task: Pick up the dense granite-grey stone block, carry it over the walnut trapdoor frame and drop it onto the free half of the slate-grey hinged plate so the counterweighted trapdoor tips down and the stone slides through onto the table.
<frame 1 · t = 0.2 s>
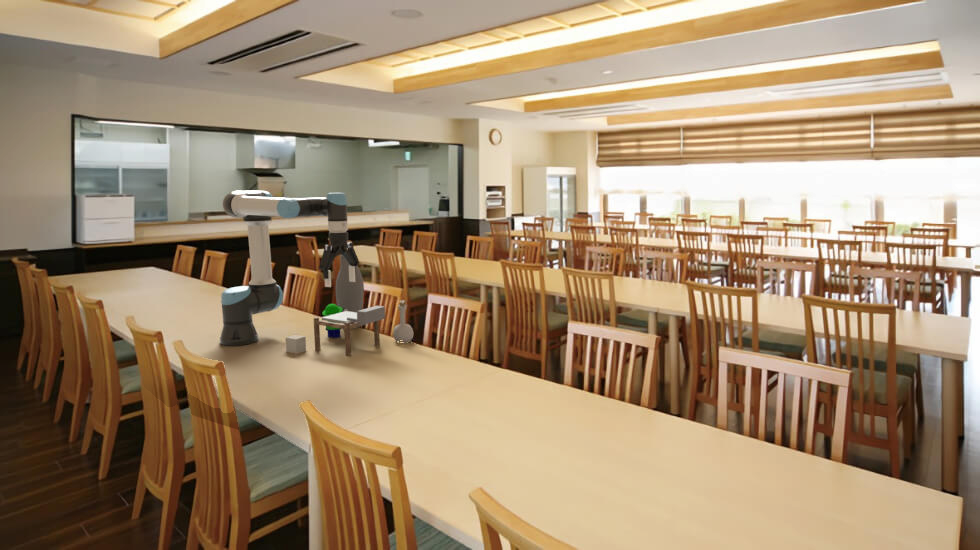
hand: (340, 284, 234), 27 cm above the table, fingers open, 13 cm apart
vase: (352, 326, 277), on the table
trapdoor: (354, 312, 236), point 15 cm above the table, hinge at 0.0°
potion bottle: (403, 341, 250), on the table
stone: (296, 351, 236), on the table
frame: (347, 347, 241), on the table
toy: (333, 337, 258), on the table
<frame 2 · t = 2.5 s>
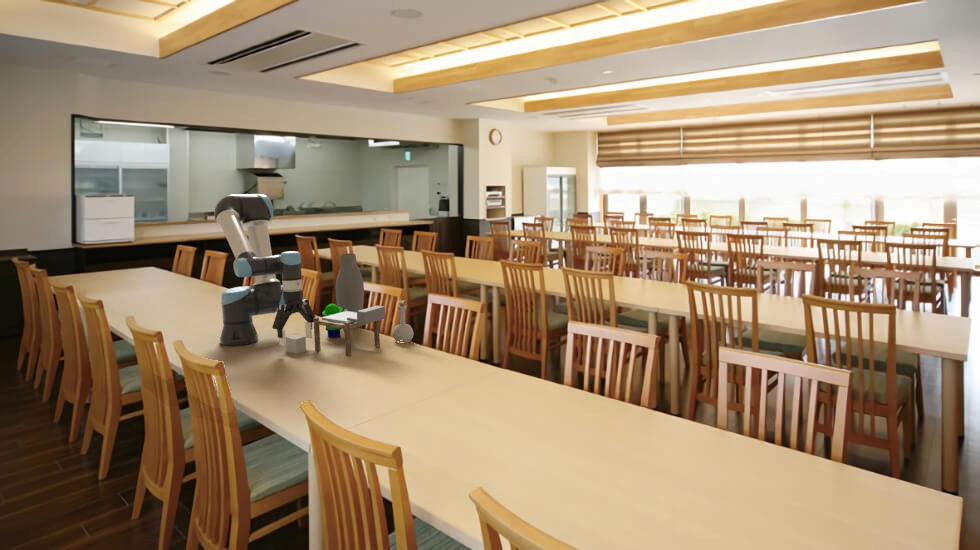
hand: (296, 341, 235), 4 cm above the table, fingers open, 13 cm apart
nothing on the table moved.
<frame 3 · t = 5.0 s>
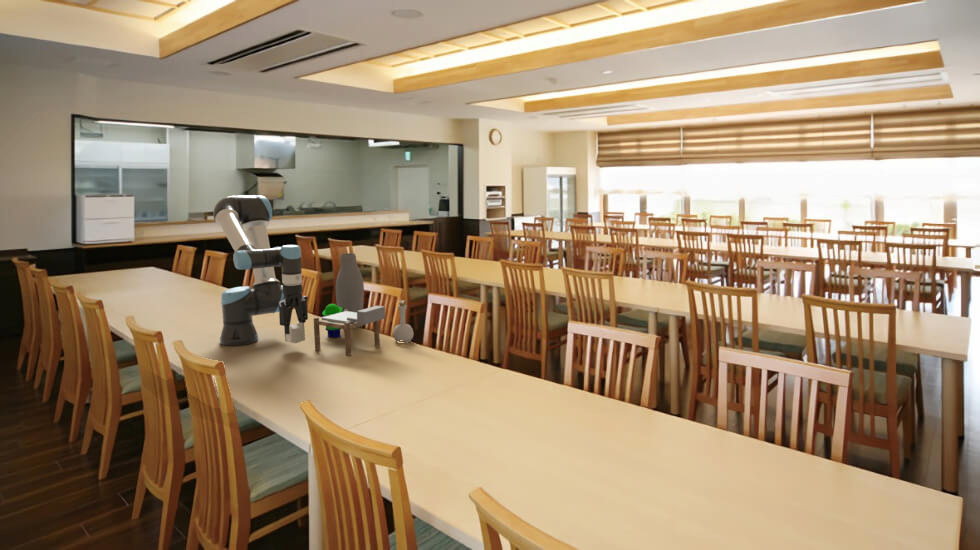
hand: (294, 339, 236), 5 cm above the table, fingers closed on stone, 5 cm apart
stone: (295, 340, 236), point 4 cm above the table, touching gripper
everything else where it was.
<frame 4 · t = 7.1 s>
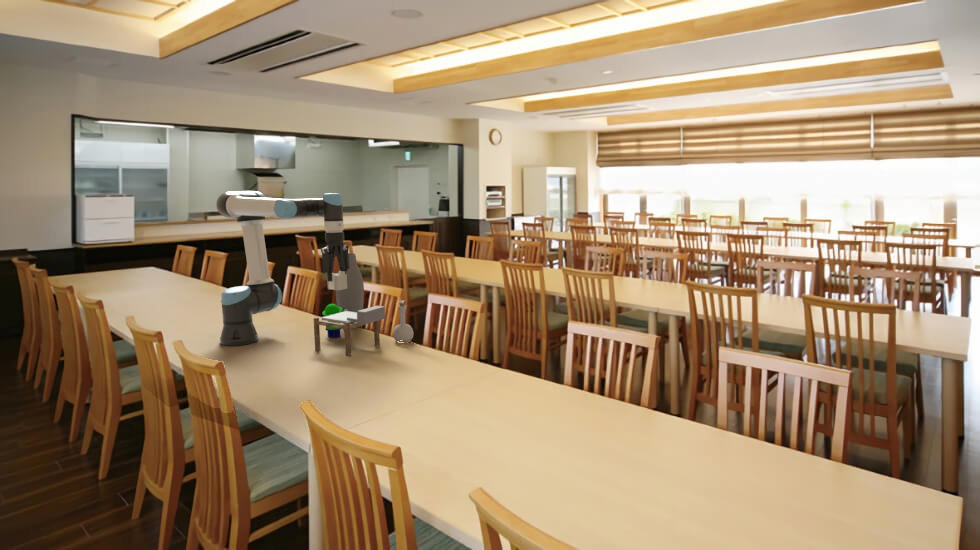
hand: (337, 287, 238), 25 cm above the table, fingers closed on stone, 5 cm apart
stone: (337, 288, 238), point 25 cm above the table, touching gripper
everything else where it was.
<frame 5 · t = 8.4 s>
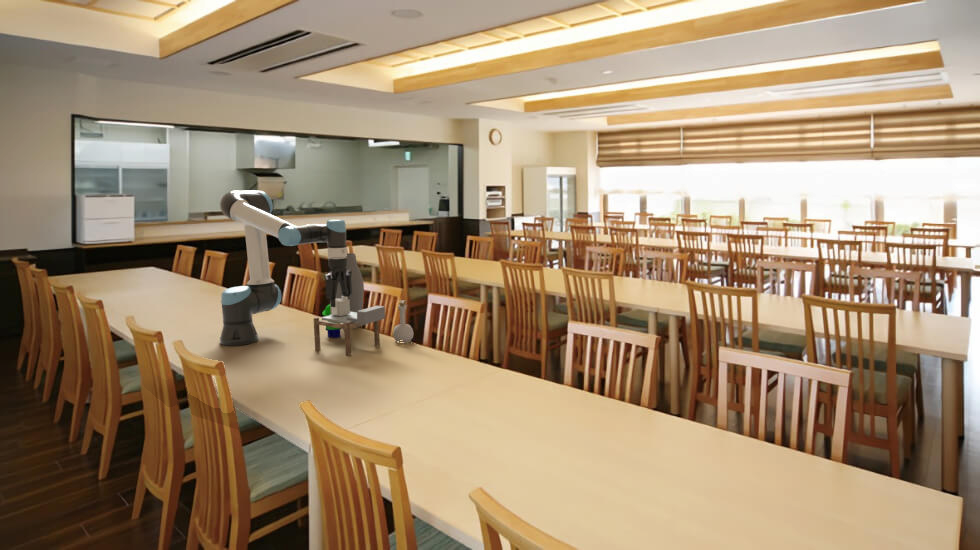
hand: (340, 313, 240), 14 cm above the table, fingers closed on stone, 5 cm apart
stone: (340, 314, 240), point 14 cm above the table, touching gripper
everything else where it was.
when the fingers open (14 cm above the table, at t = 9.0 s): stone drops 11 cm and tips over, point 3 cm above the table.
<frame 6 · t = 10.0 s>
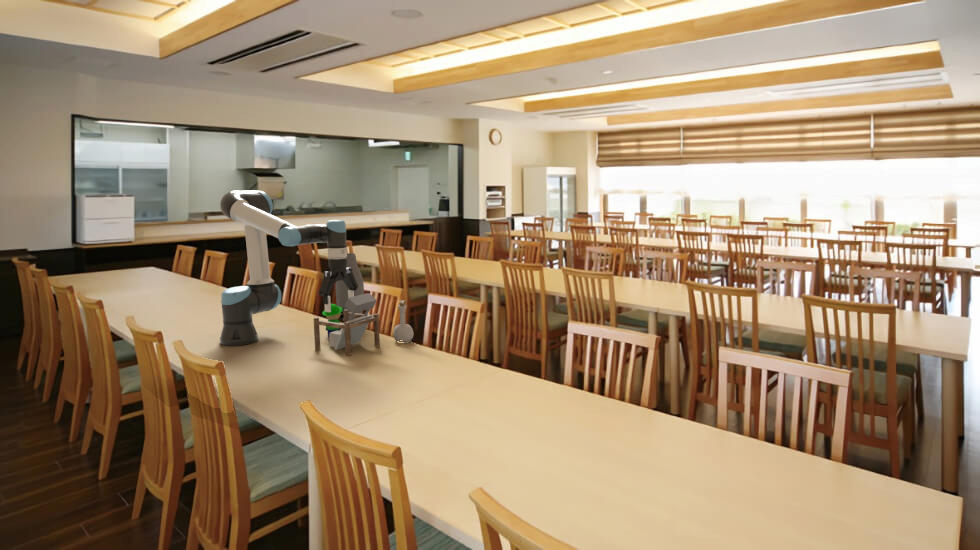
hand: (339, 308, 240), 16 cm above the table, fingers open, 13 cm apart
trapdoor: (353, 321, 237), point 12 cm above the table, hinge at 58.7°
stone: (344, 340, 241), point 3 cm above the table, tilted 90°
everything else where it was.
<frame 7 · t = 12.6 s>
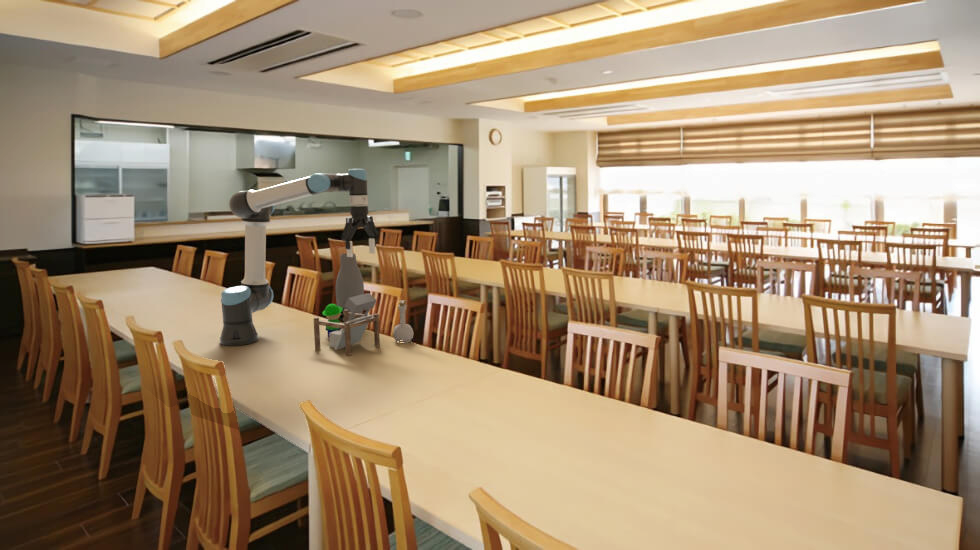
hand: (361, 255, 249), 37 cm above the table, fingers open, 13 cm apart
nothing on the table moved.
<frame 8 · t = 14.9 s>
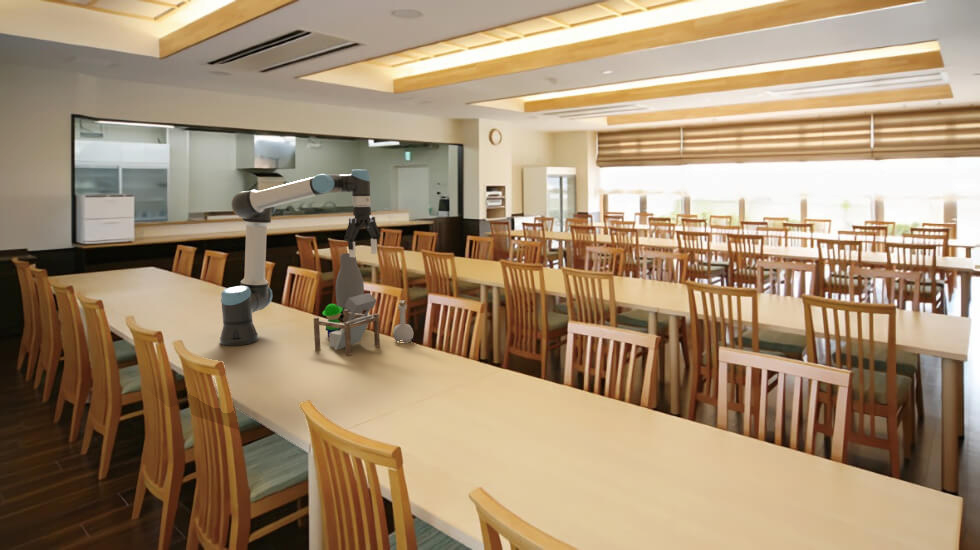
hand: (363, 255, 251), 37 cm above the table, fingers open, 13 cm apart
nothing on the table moved.
at the end: stone point 2.9 cm above the table; stone moved 19.5 cm from its start; the gripper is holding nothing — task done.
